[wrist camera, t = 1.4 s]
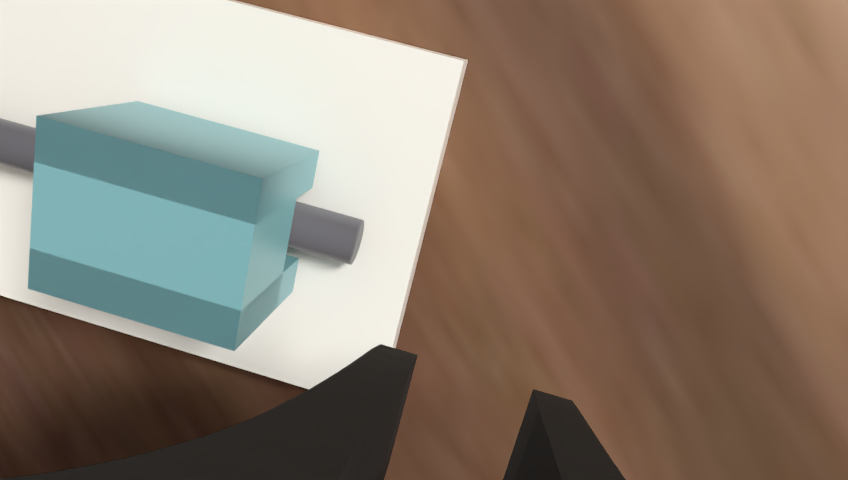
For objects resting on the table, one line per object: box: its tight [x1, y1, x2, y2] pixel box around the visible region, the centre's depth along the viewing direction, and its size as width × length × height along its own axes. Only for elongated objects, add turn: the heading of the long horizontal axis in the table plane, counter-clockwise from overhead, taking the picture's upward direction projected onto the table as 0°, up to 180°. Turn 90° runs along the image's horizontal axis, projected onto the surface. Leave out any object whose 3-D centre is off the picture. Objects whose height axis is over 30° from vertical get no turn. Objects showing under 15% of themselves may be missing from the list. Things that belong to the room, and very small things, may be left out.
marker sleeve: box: [28, 101, 319, 351], centre depth 16 cm, size 4×5×4 cm
